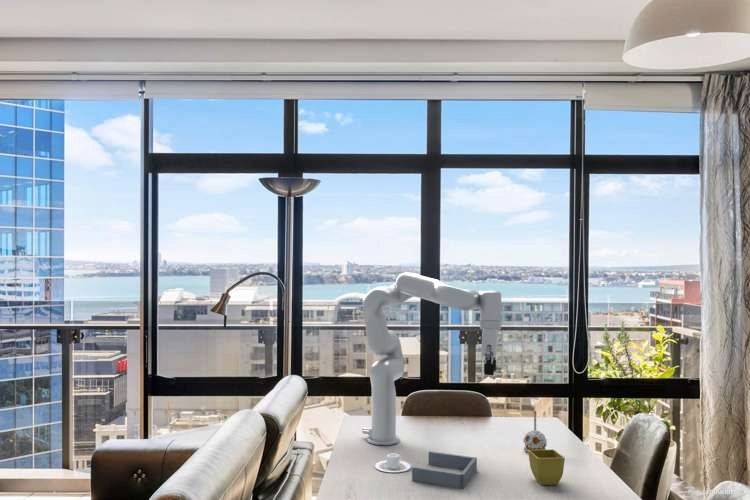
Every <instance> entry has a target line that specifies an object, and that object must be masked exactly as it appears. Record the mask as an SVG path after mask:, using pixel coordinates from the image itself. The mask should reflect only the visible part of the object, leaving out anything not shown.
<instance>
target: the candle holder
mask: <svg viewBox="0 0 750 500" xmlns="http://www.w3.org/2000/svg"><path fill="white" fill-rule="evenodd" d="M386 458H387V459H386V460H382V461H381V460H380V461H378V462H376V463H375V465H374V467H375V469H376V470H379V471H381V472H385V473H403V472H406V471H408V470H410V469H411V468H412V467H411V464H410V463H408V462H406V461H403V460H401V459H400V454H399V453H395V452H394V453H388V454H387V457H386ZM384 464H386V467H387V468H388V469H389V468H390V469H391V470H385V469H384V468H383V469H382V468H381V466H382V465H384ZM400 465H402V466H404V467H405V468H404V469H401V470H397V469H399V468H400Z"/></svg>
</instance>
